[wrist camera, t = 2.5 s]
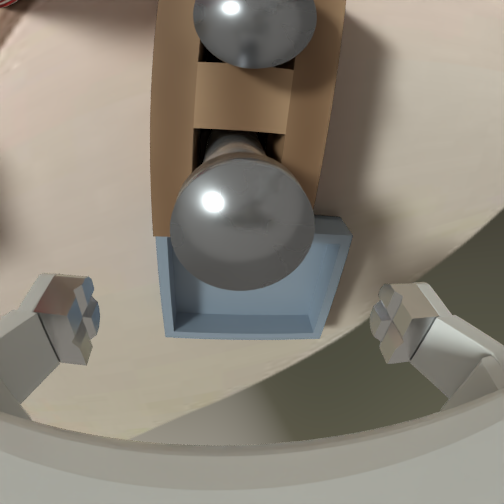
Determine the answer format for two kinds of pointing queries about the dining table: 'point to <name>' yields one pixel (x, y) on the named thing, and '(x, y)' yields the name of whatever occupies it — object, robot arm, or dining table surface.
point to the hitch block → (237, 102)
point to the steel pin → (241, 216)
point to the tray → (256, 294)
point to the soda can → (6, 3)
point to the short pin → (255, 30)
